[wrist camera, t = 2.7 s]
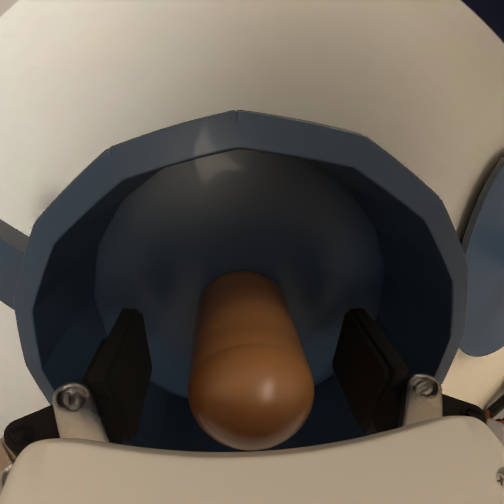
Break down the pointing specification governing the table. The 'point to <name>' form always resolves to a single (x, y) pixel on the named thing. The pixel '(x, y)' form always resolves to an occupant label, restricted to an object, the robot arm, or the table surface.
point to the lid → (485, 269)
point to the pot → (236, 259)
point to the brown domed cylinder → (248, 364)
